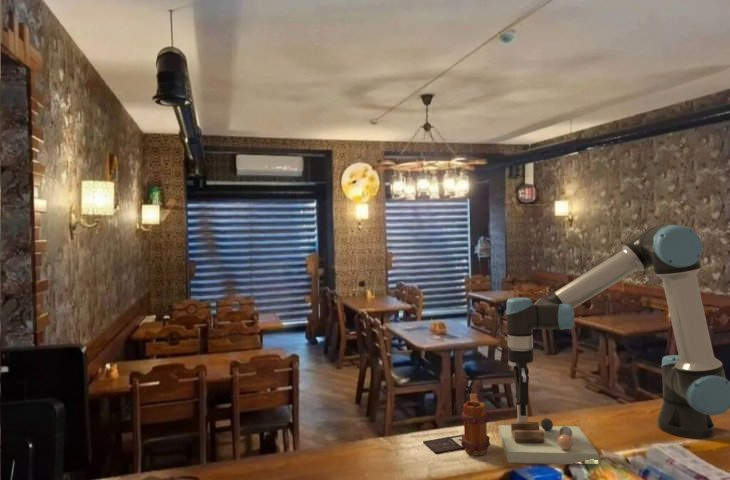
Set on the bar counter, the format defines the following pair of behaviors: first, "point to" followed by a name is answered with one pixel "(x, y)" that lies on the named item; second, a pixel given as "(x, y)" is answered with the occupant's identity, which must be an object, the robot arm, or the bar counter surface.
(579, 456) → the board
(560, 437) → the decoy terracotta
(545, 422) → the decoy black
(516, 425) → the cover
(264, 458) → the bar counter surface
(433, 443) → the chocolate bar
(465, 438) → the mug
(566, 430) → the ball
